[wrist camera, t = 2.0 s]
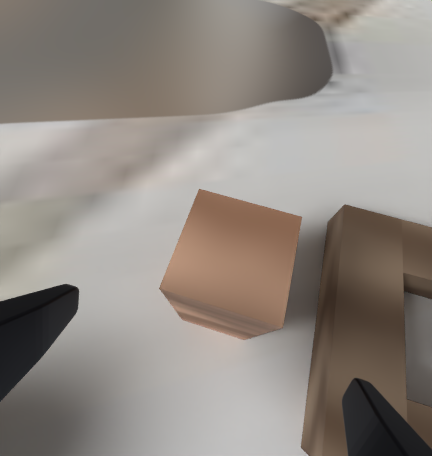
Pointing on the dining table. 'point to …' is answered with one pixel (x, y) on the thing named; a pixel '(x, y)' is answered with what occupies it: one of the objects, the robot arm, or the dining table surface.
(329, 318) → the walnut hole board
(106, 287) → the dining table surface
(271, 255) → the terracotta peg
